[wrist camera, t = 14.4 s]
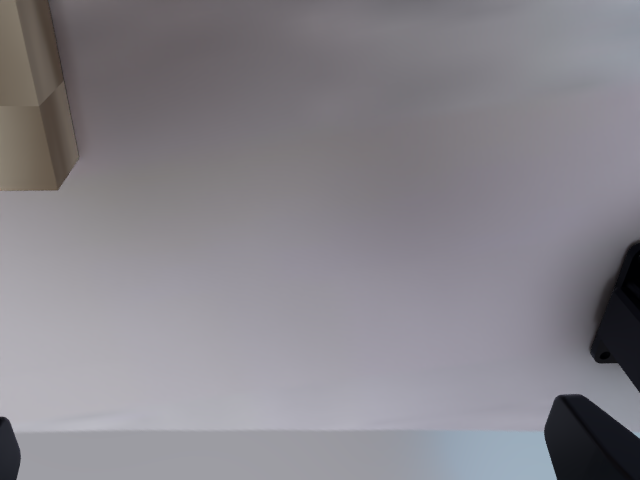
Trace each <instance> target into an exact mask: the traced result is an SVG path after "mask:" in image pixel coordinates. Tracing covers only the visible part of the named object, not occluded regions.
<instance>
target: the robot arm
mask: <svg viewBox="0 0 640 480" xmlns="http://www.w3.org/2000/svg"><path fill="white" fill-rule="evenodd" d="M639 256H640V243H638V244H636V245H634V246H633V247H631V248H630V249H629V251H628V253H627V255H626V258H625V261H624V263H623V266H622V269H621V271H620V274H619V277H618V279H617V282H616V285H615V287H614V290H613V292H612V295H611V298H610V300H609V303H608V305H607V308H606V311H605V313H604V316H603V319H602V321H601V324H600V327H599V329H598V332H597V335H596V337H595V340H594V343H593V345H592V348H591V352H590V353H591V355H592V357H593V358H594V360H595V361H596V362H597V363H619V365H620V366H621V368H622V369H623V370H624V372H625V373H626V374H627V376H628V377H629V379H630V380H631V381H632V383H633V384H634V385H635V387H636V388H637V390H638V391H639V392H640V257H639ZM544 435H545V441H546V444H547V448H548V451H549V454H550V457H551V461H552V464H553V467H554V470H555V474H556V477H557V480H640V438H638V437H637V436H636V435H634V434H633V433H632V432H630V431H629V430H628V429H627V428H625V427H624V426H623V425H621V424H620V423H619V422H617V421H616V420H615V419H614V418H612V417H611V416H610V415H608V414H607V413H606V412H604V411H603V410H602V409H601V408H599V407H598V406H597V405H595V404H594V403H593V402H591V401H590V400H589V399H587V398H586V397H584V396H583V395H580V394H568V395H558V396H557V397H556V398H555V400H554V402H553V405H552V408H551V411H550V413H549V416H548V419H547V422H546V425H545V430H544ZM20 459H21V455H20V448H19V446H18V443H17V440H16V437H15V434H14V432H13V429H12V426H11V423H10V421H9V420H8V419H7V418H6V417H0V480H16V479H17V475H18V470H19V466H20Z"/></svg>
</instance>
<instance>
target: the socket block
mask: <svg viewBox="0 0 640 480" xmlns="http://www.w3.org/2000/svg"><path fill="white" fill-rule="evenodd" d="M78 159H79V155H78V150H77V145H76V140H75V135H74V129H73V124H72V119H71V114H70V109H69V104H68V99H67V94H66V89H65V84H64V79H63V74H62V69H61V64H60V59H59V54H58V49H57V44H56V39H55V34H54V29H53V23H52V18H51V13H50V8H49V3H48V0H0V191H28V190H59V188H60V187H61V185H62V184H63V182H64V180H65V179H66V177H67V176H68V174H69V173H70V171H71V170H72V168H73V167H74V165H75V164H76V162H77V161H78Z"/></svg>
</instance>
